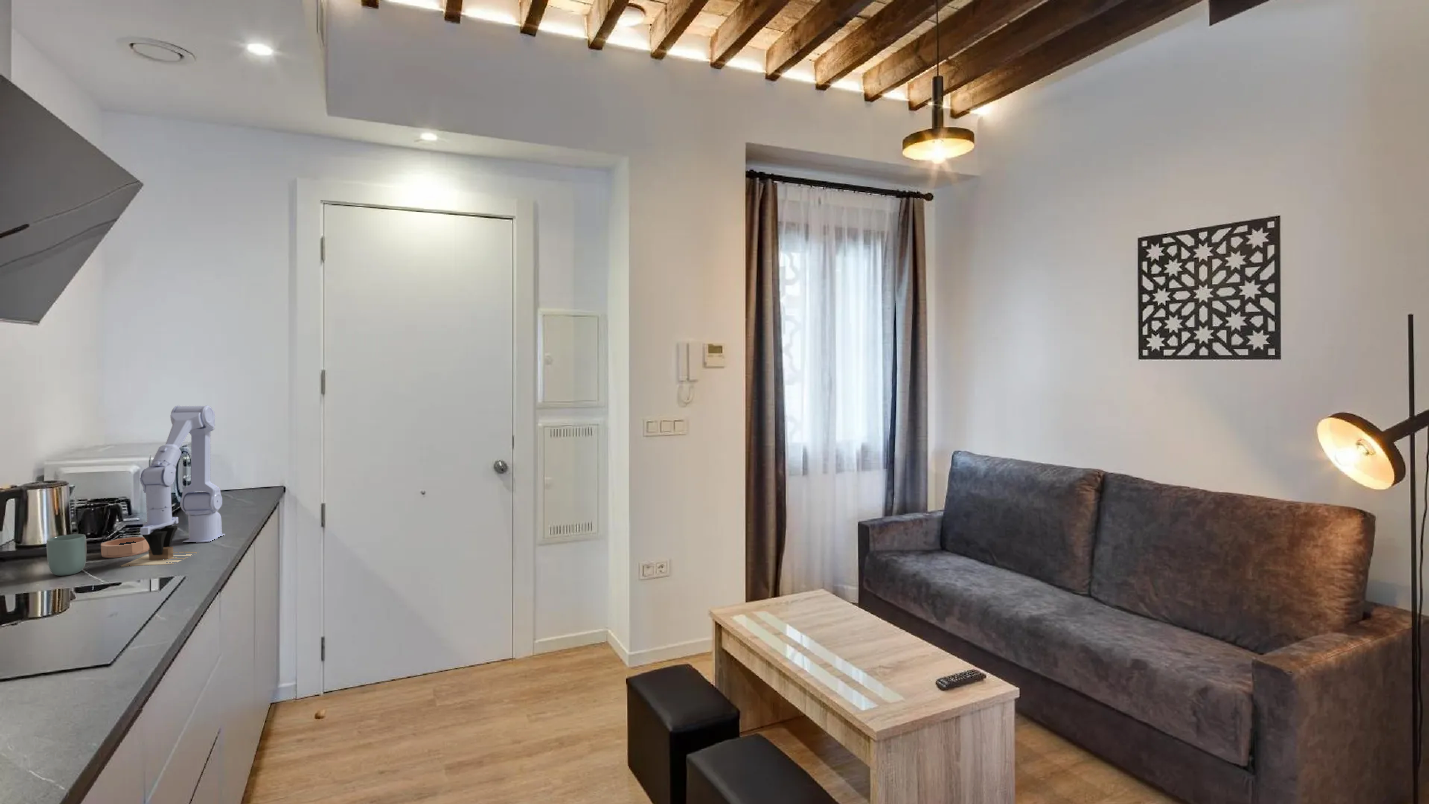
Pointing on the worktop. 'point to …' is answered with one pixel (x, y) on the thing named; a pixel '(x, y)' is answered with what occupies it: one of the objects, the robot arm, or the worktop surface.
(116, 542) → the dish
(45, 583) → the worktop surface
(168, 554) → the lid
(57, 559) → the cup
